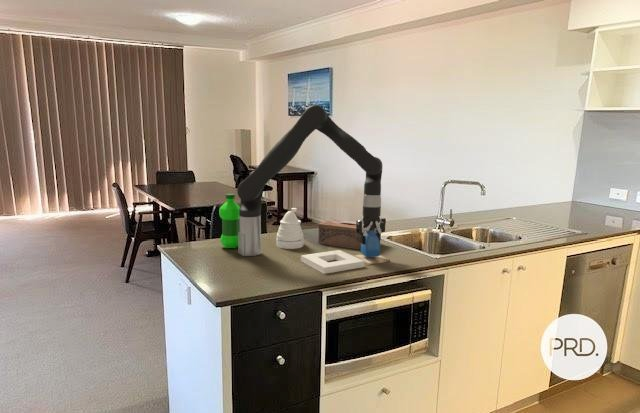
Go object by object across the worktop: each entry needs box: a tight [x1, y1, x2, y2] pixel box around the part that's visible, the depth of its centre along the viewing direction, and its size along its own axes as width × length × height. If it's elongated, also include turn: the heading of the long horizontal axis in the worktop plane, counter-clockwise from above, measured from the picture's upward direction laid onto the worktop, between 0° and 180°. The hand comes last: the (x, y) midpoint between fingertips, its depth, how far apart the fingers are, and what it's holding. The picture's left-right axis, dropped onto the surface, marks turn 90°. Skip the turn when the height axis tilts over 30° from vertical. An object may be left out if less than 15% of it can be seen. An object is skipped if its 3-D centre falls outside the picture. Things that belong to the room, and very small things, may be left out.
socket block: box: [300, 249, 365, 275], centre depth 183 cm, size 19×19×2 cm
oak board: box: [353, 253, 391, 266], centre depth 191 cm, size 12×12×1 cm
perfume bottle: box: [360, 227, 381, 257], centre depth 189 cm, size 6×6×12 cm
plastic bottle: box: [218, 193, 240, 249], centre depth 205 cm, size 10×10×25 cm
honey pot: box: [276, 207, 304, 250], centre depth 211 cm, size 13×13×18 cm
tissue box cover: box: [317, 218, 376, 250], centre depth 216 cm, size 26×14×10 cm, turn 63°
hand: (370, 243), depth 190 cm, fingers closed on perfume bottle, 7 cm apart
